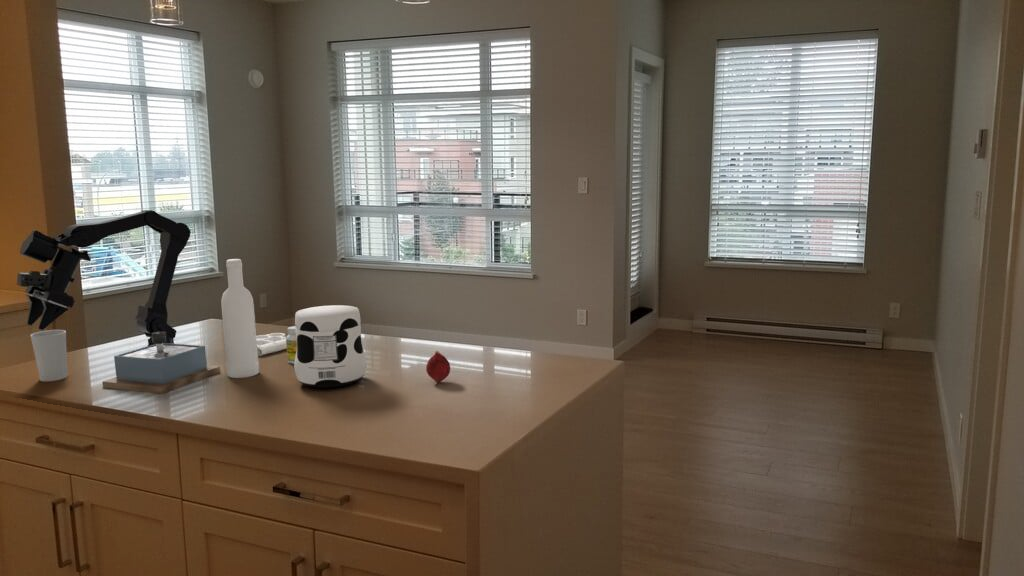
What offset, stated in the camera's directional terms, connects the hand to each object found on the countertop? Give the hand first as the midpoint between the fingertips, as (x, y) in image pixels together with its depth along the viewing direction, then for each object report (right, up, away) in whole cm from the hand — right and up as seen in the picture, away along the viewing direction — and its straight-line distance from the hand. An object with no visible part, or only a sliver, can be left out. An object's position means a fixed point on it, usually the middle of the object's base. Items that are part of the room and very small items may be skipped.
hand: (34, 326), depth 199 cm
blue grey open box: (+30, -12, +3) cm, 33 cm away
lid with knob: (+31, -7, +2) cm, 32 cm away
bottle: (+51, -13, +6) cm, 53 cm away
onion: (+103, -13, -7) cm, 104 cm away
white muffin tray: (+47, -9, +33) cm, 58 cm away
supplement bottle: (+62, -11, +17) cm, 65 cm away
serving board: (+31, -14, +3) cm, 34 cm away
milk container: (+76, -14, -4) cm, 77 cm away
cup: (+1, -14, +7) cm, 15 cm away
